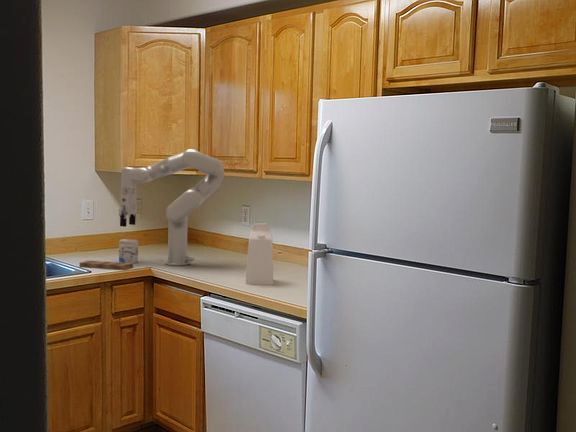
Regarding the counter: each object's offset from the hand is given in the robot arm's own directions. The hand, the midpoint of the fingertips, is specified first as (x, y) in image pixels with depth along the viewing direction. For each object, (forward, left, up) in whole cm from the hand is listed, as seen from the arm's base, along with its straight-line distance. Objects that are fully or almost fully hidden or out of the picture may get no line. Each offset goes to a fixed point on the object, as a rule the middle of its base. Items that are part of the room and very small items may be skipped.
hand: (127, 225), depth 305 cm
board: (+4, +15, -19) cm, 24 cm away
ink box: (0, 0, -19) cm, 19 cm away
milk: (-75, +24, -19) cm, 81 cm away
